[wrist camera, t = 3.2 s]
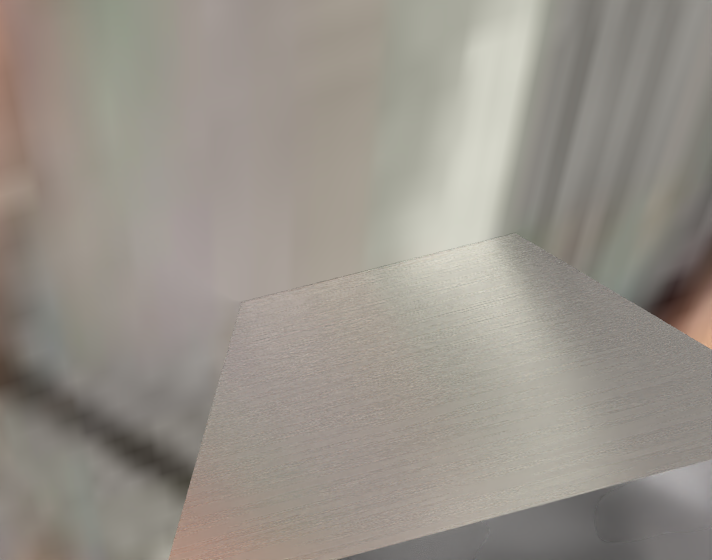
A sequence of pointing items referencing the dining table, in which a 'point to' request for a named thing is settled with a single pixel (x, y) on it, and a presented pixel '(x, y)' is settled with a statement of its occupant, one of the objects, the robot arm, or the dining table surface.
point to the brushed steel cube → (455, 421)
